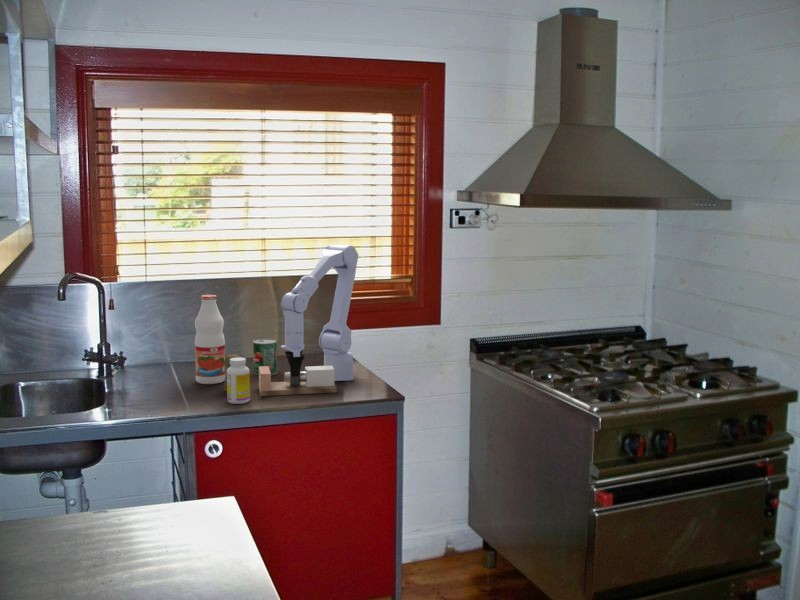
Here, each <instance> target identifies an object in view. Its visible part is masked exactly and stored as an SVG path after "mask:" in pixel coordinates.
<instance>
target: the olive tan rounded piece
mask: <svg viewBox="0 0 800 600" xmlns="http://www.w3.org/2000/svg"><path fill="white" fill-rule="evenodd" d="M237 357H240V358H242V356H241V355H239V354H233V353H232V354H228V355H225V366H226V367H225V381H224V385H223V386H224V387H223V390H224V391H225V392H227V369H228V368H229V367H231V365H230V359H231V358H237Z"/></svg>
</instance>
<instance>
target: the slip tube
mask: <svg viewBox="0 0 800 600" xmlns="http://www.w3.org/2000/svg"><path fill="white" fill-rule="evenodd" d="M283 379H284V382H285V383H290V386H299V385H300V382H307V372H305V371H300V374H299V377H292V375H291V370H290V364H289V363H288V371H287V372H286V371H285V372H284V378H283Z"/></svg>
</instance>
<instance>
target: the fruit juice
mask: <svg viewBox="0 0 800 600" xmlns="http://www.w3.org/2000/svg"><path fill="white" fill-rule="evenodd" d="M217 299H218V297H217V295H215V294H202V295H201V296H200V301H201V305H200V308H199V310H198V313H197V316H196V318H195V319H194V327H195V331H196V332H195V337H194V356H195V360H194V361H195V362H194V363H195V365H194V366H195V381H196V383H198V384H201V385H215V384H220V383H223V382H225V377H226V364H225V358H226V341H225V339H226V338H225V335H224V332H223V329H224V325H225V321H224V318H223V316H222V314H221V313H220V310H219V307H218V305H217V303H216V302H217Z"/></svg>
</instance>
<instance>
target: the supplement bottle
mask: <svg viewBox="0 0 800 600" xmlns="http://www.w3.org/2000/svg"><path fill="white" fill-rule="evenodd" d="M246 363H247V359H246V357H241V358H240V357H237V358H231V359H230V365H231V367H229V368H228V369H227V391H226V394H227V395H226V397H227V399H226V400H227V402H228V403H230V404H235V405H241V404H246V403H248V402H250V401H251V381H250V377H251V376H250V368H249V367H248V366H246Z"/></svg>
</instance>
